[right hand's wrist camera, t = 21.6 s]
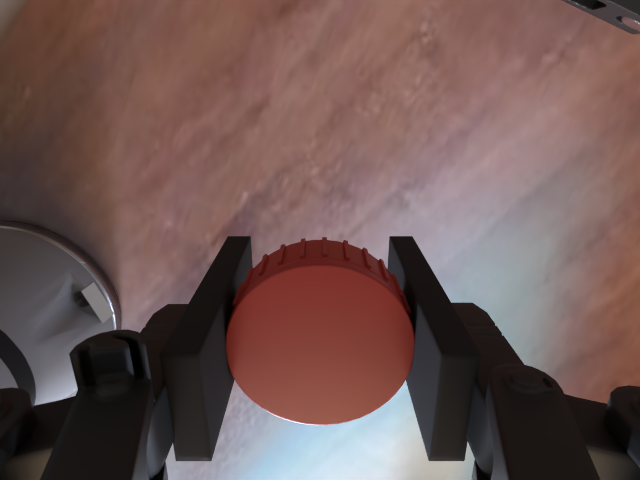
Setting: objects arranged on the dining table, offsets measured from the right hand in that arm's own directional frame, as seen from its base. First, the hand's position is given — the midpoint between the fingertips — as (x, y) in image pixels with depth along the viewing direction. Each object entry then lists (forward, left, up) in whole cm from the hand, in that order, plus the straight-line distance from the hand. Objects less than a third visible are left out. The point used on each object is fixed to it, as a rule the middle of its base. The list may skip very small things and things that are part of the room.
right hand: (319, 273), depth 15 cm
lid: (0, 0, +4) cm, 4 cm away
